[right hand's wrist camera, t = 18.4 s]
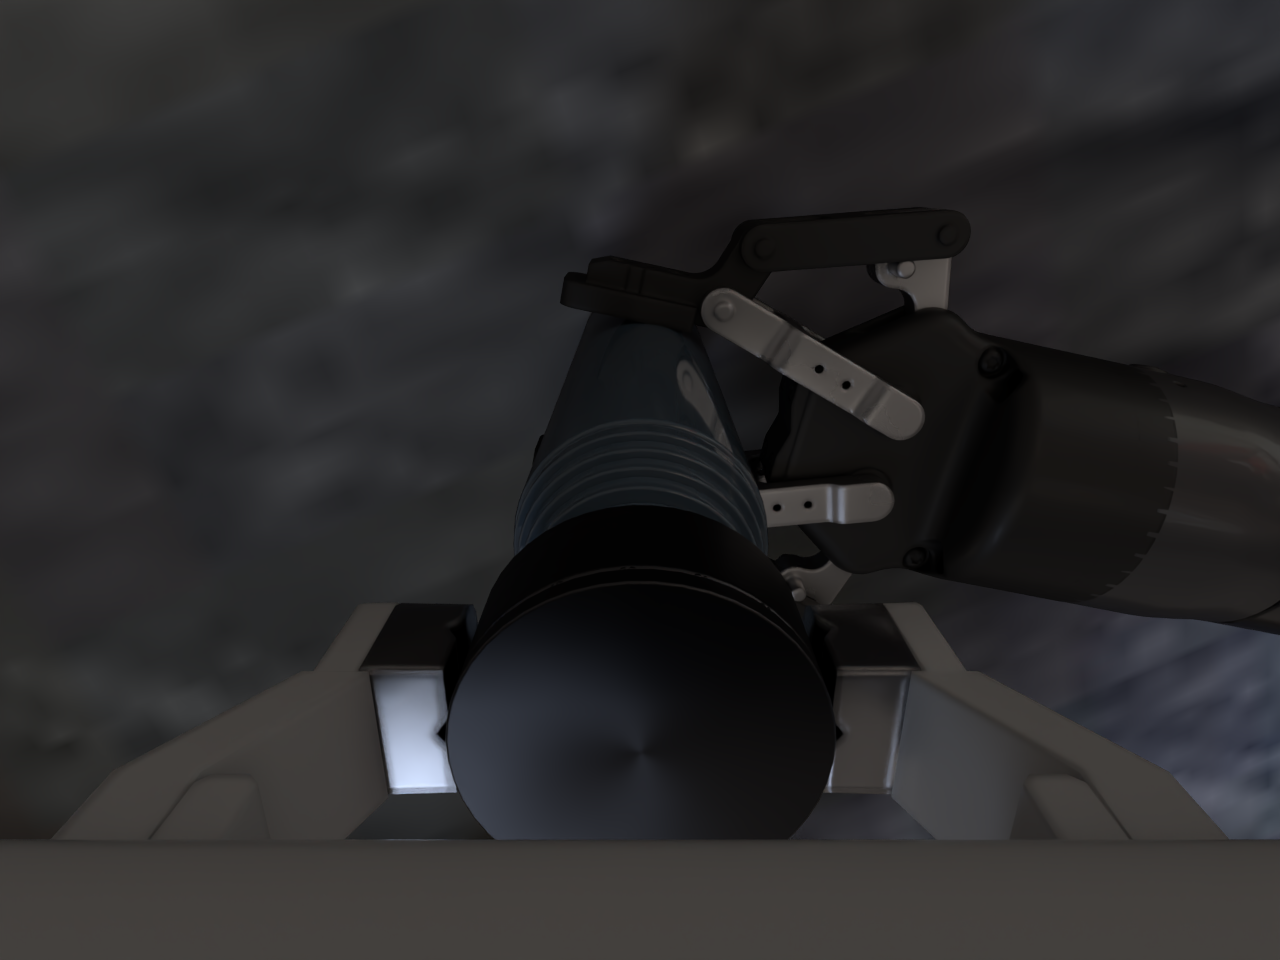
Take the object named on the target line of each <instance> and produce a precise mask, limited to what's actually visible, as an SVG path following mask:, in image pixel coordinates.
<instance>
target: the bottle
mask: <svg viewBox="0 0 1280 960" xmlns="http://www.w3.org/2000/svg"><path fill="white" fill-rule="evenodd" d="M625 505H655V506H663V507H671V508H677V509H681V510H685V511H691V512H694V513H697V514H700V515H702V516H705V517H708V518H710V519H713V520H715V521H718V522H720V523H722V524H724V525H725V526H727V527H729V528H731V529H733V530H735V531H737V532H738V533H739V534H741V535H742V536H744V537H745V538H746V539H748V540H749V541H750V542H752V543H753V544H755V545H756V546H757V547H758V548H759V549H760V550H761V551H762V552H763V553H764V554H765V555H766V556H767V557H768V527H767V516H766V511H765V507H764V502H763V500H762V497H761V494H760V492H759V489H758V486H757V484H756V481H755V479H754V476H753V473H752V471H751V468H750V465H749V463H748V460H747V457H746V455H745V452H744V450H743V447H742V444H741V442H740V439H739V436H738V434H737V431H736V428H735V426H734V423H733V421H732V418H731V415H730V413H729V410H728V407H727V405H726V402H725V399H724V397H723V394H722V392H721V389H720V386H719V384H718V381H717V378H716V376H715V373H714V370H713V368H712V365H711V362H710V360H709V357H708V355H707V352H706V349H705V347H704V344H703V341H702V339H701V336H700V333H699V331H698V328H697V326H696V325H694V324H693V328H692V333H688V332H683V331H679V330H674V329H669V328H666V327H662V326H658V325H652V324H646V323H641V322H636V321H631V320H627V319H622V318H617V317H613V316H608V315H603V314H598V313H594V312H592V314H591V315H590V317H589V319H588V321H587V324H586V326H585V329H584V331H583V334H582V337H581V339H580V342H579V345H578V347H577V350H576V352H575V355H574V358H573V360H572V363H571V366H570V368H569V371H568V373H567V376H566V379H565V381H564V384H563V387H562V389H561V392H560V394H559V397H558V400H557V402H556V405H555V408H554V410H553V413H552V415H551V418H550V421H549V423H548V426H547V429H546V431H545V434H544V436H543V439H542V442H541V444H540V447H539V450H538V452H537V455H536V457H535V460H534V463H533V465H532V468H531V471H530V473H529V476H528V478H527V481H526V484H525V486H524V489H523V492H522V494H521V497H520V499H519V502H518V507H517V511H516V515H515V526H514V557H515V556H516V555H517V554H518V553H519V552H520V551H521V550H522V549H523V548H524V547H525V546H526V545H527V544H528V543H530V542H531V541H533V540H534V539H535V538H537V537H538V536H539V535H541V534H542V533H544V532H545V531H547V530H549V529H551V528H553V527H554V526H556V525H558V524H560V523H562V522H564V521H566V520H569V519H571V518H574V517H577V516H579V515H582V514H585V513H588V512H592V511H597V510H601V509H605V508H610V507H619V506H625Z"/></svg>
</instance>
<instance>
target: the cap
mask: <svg viewBox="0 0 1280 960" xmlns="http://www.w3.org/2000/svg"><path fill="white" fill-rule="evenodd" d="M445 740H446V749H447V757H448V763H449V766H450V770H451V773H452V777H453V780H454V783H455V785H456V787H457V789H458V791H459V794H460V796H461V798H462V800H463V802H464V803H465V805H466V806H467V808H468V809H469V811H470V812H471V814H472V815H473V817H474V818H475V819H476V821H477V822H478V823H479V824H480V825H481V826H482V827H483V829H484V830H485V831H486V832H487V833H488V834H489V835H490V836H491V837H492V838H493V839H494V840H787V839H789V838H790V837H791V836H792V835H793V834H794V833H795V832H796V831H797V830H798V828H799V827H800V826H801V825H802V824H803V823H804V822H805V820H806V819H807V818H808V817H809V815H810V814H811V812H812V811H813V809H814V808H815V806H816V805H817V803H818V801H819V800H820V797H821V795H822V793H823V791H824V789H825V787H826V785H827V782H828V779H829V776H830V772H831V769H832V765H833V762H834V755H835V747H836V724H835V716H834V711H833V707H832V702H831V698H830V696H829V693H828V690H827V687H826V685H825V682H824V679H823V676H822V674H821V671H820V668H819V665H818V663H817V660H816V657H815V654H814V652H813V649H812V646H811V644H810V641H809V638H808V635H807V633H806V630H805V627H804V624H803V622H802V619H801V616H800V613H799V611H798V608H797V605H796V603H795V600H794V598H793V595H792V592H791V590H790V588H789V587H788V585H787V583H786V581H785V580H784V578H783V576H782V574H781V573H780V572H779V570H778V569H777V568H776V567H775V565H774V564H773V563H772V561H771V560H770V559H769V558H768V557H767V556H766V555H765V554H764V553H763V552H762V551H761V550H760V549H759V548H758V547H757V546H756V545H755V544H753V543H752V542H750V541H749V540H748V539H746V538H745V537H744V536H742V535H741V534H739V533H738V532H737V531H735V530H733V529H731V528H729V527H727V526H725V525H724V524H722V523H720V522H718V521H715V520H713V519H710V518H708V517H705V516H702V515H700V514H697V513H694V512H691V511H685V510H681V509H677V508H671V507H663V506H655V505H625V506H619V507H610V508H605V509H601V510H597V511H592V512H588V513H585V514H582V515H579V516H577V517H574V518H571V519H569V520H566V521H564V522H562V523H560V524H558V525H556V526H554V527H553V528H551V529H549V530H547V531H545V532H544V533H542V534H541V535H539V536H538V537H537V538H535V539H534V540H533V541H531V542H530V543H528V544H527V545H526V546H525V547H524V548H523V549H522V550H521V551H520V552H519V553H518V554H517V555H516V556H515V557H513V559H512V560H511V561H510V562H509V564H508V565H507V566H506V567H505V569H504V570H503V571H502V572H501V574H500V576H499V577H498V579H497V581H496V583H495V584H494V586H493V588H492V589H491V592H490V594H489V597H488V599H487V602H486V605H485V607H484V610H483V613H482V615H481V618H480V621H479V623H478V626H477V629H476V632H475V634H474V637H473V640H472V643H471V645H470V648H469V651H468V653H467V656H466V659H465V662H464V664H463V667H462V670H461V673H460V675H459V678H458V681H457V684H456V686H455V689H454V692H453V694H452V697H451V700H450V705H449V710H448V714H447V719H446V739H445Z"/></svg>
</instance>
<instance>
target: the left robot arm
mask: <svg viewBox="0 0 1280 960" xmlns="http://www.w3.org/2000/svg"><path fill="white" fill-rule="evenodd" d="M970 233H971V229H970V224H969V221H968V219H967V218H966V217H965V216H964V215H963V214H962V213H960V212H958V211H954V210H944V209H934V208H924V207H913V208H900V209H887V210H874V211H861V212H848V213H835V214H822V215H809V216H796V217H783V218H769V219H756V220H748V221H745V222H743V223H741V224H740V225H739V226H738V227H737V228H736V229H735V231H734V232H733V235H732V239H731V241H730V243H729V244H728V246H727V248H726V249H725V251H724V252H723V254H722V255H721V257H720V259H719V260H718V261H717V263H716V264H715V265H714V266H713V267H712V268H710V269H709V270H707V271H704V272H701V273H688V272H683V271H679V270H674V269H670V268H665V267H660V266H656V265H651V264H647V263H642V262H638V261H633V260H628V259H624V258H619V257H615V256H605V257H600V258H594V259H592V260H591V261H590V263H589V266H588V272H587V274H584V273H578V272H568V273H567V275H566V276H565V277H564V282H563V288H562V294H561V300H560V303H561V304H562V305H565V306H567V307H571V308H575V309H580V310H584V311H589V312H594V313H598V314H603V315H608V316H613V317H617V318H622V319H627V320H631V321H636V322H641V323H646V324H652V325H658V326H662V327H666V328H669V329H674V330H679V331H683V332H688V333H692V328H693V324H694V325H698V326H703V327H708V328H709V329H711V330H712V331H714V332H716V333H717V334H719V335H721V336H722V337H724V338H726V339H728V340H729V341H731V342H733V343H734V344H736V345H738V346H740V347H741V348H743V349H745V350H746V351H748V352H750V353H752V354H753V355H755V356H757V357H758V358H760V359H762V360H763V361H765V362H766V363H767V364H768V365H770V366H771V367H773V368H774V369H775V370H777V371H778V372H780V373H782V374H783V377H782V380H781V384H780V387H779V413H778V415H777V417H776V419H775V420H774V422H773V424H772V425H771V427H770V429H769V430H768V432H767V434H766V436H765V440H764V443H763V447H762V449H761V450H750V451H744V452H745V455H746V457H747V460H748V463H749V465H750V468H751V471H752V473H753V476H754V479H755V481H756V484H757V486H758V489H759V492H760V494H761V497H762V500H763V502H764V507H765V511H766V516H767V527H778V526H788V525H798V526H799V527H800V528H801V530H802V531H803V532H804V533H805V534H806V535H807V536H808V537H809V538H810V539H811V540H812V542H813V543H814V544H815V545H816V546H817V547H818V548H819V549H820V550H821V551H820V552H819V553H817V554H816V555H814V556H810V557H800V556H797V555H793V554H783V555H781V556H780V557H779V558H778V559H777V560H776V561H774V560H772V559H770V558H769V559H770V560H771V561H772V563H773V564H774V565H775V567H776V568H777V569H778V570H779V572H780V573H781V574H782V576H783V578H784V580H785V581H786V583H787V585H788V587H789V588H790V590H791V592H792V595H793V598H794V600H795V603H796V605H797V608H798V611H799V613H800V616H801V619H802V620H803V614H804V610H805V606H808V605H830V604H831V602H832V601H833V600H834V598H835V597H836V595H837V594H838V593H839V591H840V590H841V589H842V587H843V586H844V584H845V583H846V582H847V580H848V579H849V577H850V576H851V575H852V573H853V574H867V573H871V572H875V571H878V570H883V569H889V568H905V569H909V570H913V571H916V572H919V573H922V574H925V575H929V576H932V577H936V578H940V579H945V580H950V581H956V582H961V583H966V584H972V585H977V586H982V587H988V588H993V589H998V590H1004V591H1009V592H1014V593H1019V594H1025V595H1029V596H1034V597H1040V598H1045V599H1050V600H1055V601H1061V602H1067V603H1073V604H1078V605H1083V606H1088V607H1093V608H1098V609H1103V610H1109V611H1114V612H1119V613H1124V614H1129V615H1136V616H1143V617H1155V618H1171V619H1195V620H1202V621H1208V622H1213V623H1219V624H1224V625H1229V626H1234V627H1240V628H1245V629H1250V630H1255V631H1261V632H1266V633H1271V634H1276V635H1280V407H1277V406H1273V405H1269V404H1265V403H1262V402H1258V401H1256V400H1253V399H1250V398H1247V397H1245V396H1242V395H1240V394H1237V393H1235V392H1233V391H1230V390H1227V389H1225V388H1222V387H1219V386H1216V385H1213V384H1209V383H1205V382H1201V381H1198V380H1193V379H1188V378H1184V377H1179V376H1175V375H1171V374H1168V373H1167V372H1165V371H1163V370H1159V368H1156V367H1152V366H1146V365H1137V364H1130V365H1125V364H1121V363H1116V362H1111V361H1107V360H1102V359H1098V358H1093V357H1088V356H1084V355H1079V354H1074V353H1070V352H1065V351H1060V350H1056V349H1051V348H1047V347H1042V346H1037V345H1033V344H1028V343H1024V342H1019V341H1014V340H1010V339H1005V338H1001V337H996V336H991V335H987V334H983V333H979V332H976V331H974V330H973V329H971V328H970V327H969V326H968V325H967V324H966V323H965V322H964V321H963V320H962V319H961V318H960V317H959V316H958V315H956V314H955V313H953V312H952V311H949V310H947V308H948V296H949V283H950V270H951V258H952V257H954V256H956V255H957V254H959V253H960V252H961V251H962V250H963V249H964V248H965V247H966V245H967V243H968V241H969V238H970ZM854 265H867V272H868V274H869V276H870V278H871V279H872V280H874V281H875V282H877V283H879V284H881V285H883V286H886V287H888V288H893V289H898V290H899V291H900V292H901V293H902V295H903V297H904V302H905V305H904V306H902V307H899V308H897V309H895V310H892V311H890V312H888V313H885V314H883V315H881V316H878V317H876V318H874V319H871V320H869V321H867V322H864V323H862V324H860V325H857V326H855V327H853V328H850V329H848V330H846V331H843V332H841V333H839V334H836V335H834V336H832V337H829V338H827V339H825V338H823V337H822V336H820V335H818V334H817V333H815V332H813V331H812V330H810V329H808V328H807V327H805V326H803V325H802V324H800V323H798V322H797V321H795V320H793V319H792V318H790V317H788V316H787V315H785V314H783V313H782V312H780V311H778V310H776V309H774V308H772V307H770V306H768V305H767V304H765V303H763V302H762V301H760V300H758V299H757V298H755V296H756V294H757V293H758V291H759V290H760V288H761V287H762V285H763V284H764V282H765V281H766V279H767V278H768V276H769V275H770V273H771V272H773V271H787V270H800V269H813V268H827V267H840V266H854ZM543 436H544V435H541V436H540V438H539V441H538V443H537V446H536V448H535V452H534V458H533V463H534V460H535V457H536V455H537V452H538V450H539V447H540V444H541V442H542V439H543ZM532 465H533V464H532ZM762 468H763V469H762ZM760 469H762V470H760ZM775 504H776V505H775Z"/></svg>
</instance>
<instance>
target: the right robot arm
mask: <svg viewBox="0 0 1280 960" xmlns="http://www.w3.org/2000/svg"><path fill="white" fill-rule="evenodd" d="M802 622H803V624H804V627H805V630H806V633H807V635H808V638H809V641H810V644H811V646H812V649H813V652H814V654H815V657H816V660H817V663H818V665H819V668H820V671H821V674H822V676H823V679H824V682H825V685H826V687H827V690H828V693H829V696H830V698H831V702H832V707H833V711H834V716H835V724H836V747H835V755H834V762H833V765H832V769H831V772H830V776H829V779H828V782H827V785H826V787H825V789H824V791H823V792H830V793H867V794H892V796H891V797H892V798H893V799H894V800H895V801H896V802H897V803H898V804H899V805H900V806H901V807H902V808H903V809H904V810H905V811H906V812H908V813H909V814H910V815H911V816H912V817H913V818H914V819H915V820H916V821H917V822H918V823H919V824H920V825H921V826H922V827H923V828H925V829H926V830H927V831H928V832H929V833H930V834H931V835H932V836H933V837H934V838H935V839H936V840H344V839H345V838H346V837H347V836H348V835H349V834H350V833H351V832H353V831H354V830H355V829H356V828H357V827H358V826H359V825H360V824H361V823H362V822H363V821H364V820H365V819H366V818H367V817H369V816H370V815H371V814H372V813H373V812H374V811H375V810H376V809H377V808H378V807H379V806H380V805H381V804H382V803H383V802H385V801H386V800H387V799H388V794H412V793H447V792H457V787H456V785H455V783H454V780H453V777H452V773H451V770H450V766H449V763H448V757H447V749H446V740H445V739H446V719H447V714H448V710H449V705H450V700H451V697H452V694H453V692H454V689H455V686H456V684H457V681H458V678H459V675H460V673H461V670H462V667H463V664H464V662H465V659H466V656H467V653H468V651H469V648H470V645H471V643H472V640H473V637H474V634H475V632H476V629H477V626H478V622H477V614H476V610H475V608H474V606H473V604H428V603H400V604H399V603H397V602H390V603H363V604H360V605H358V606H357V607H356V608H355V610H354V611H353V613H352V614H351V616H350V617H349V619H348V620H347V622H346V623H345V625H344V626H343V628H342V629H341V630H340V632H339V633H338V635H337V636H336V638H335V639H334V641H333V642H332V644H331V645H330V647H329V648H328V650H327V651H326V653H325V654H324V656H323V657H322V659H321V660H320V662H319V663H318V664H317V666H316V667H315V669H314V670H313V671H301V672H299V673H297V674H295V675H293V676H292V677H290V678H288V679H286V680H284V681H282V682H280V683H278V684H276V685H275V686H273V687H271V688H269V689H267V690H265V691H263V692H261V693H259V694H257V695H256V696H254V697H252V698H250V699H248V700H246V701H244V702H242V703H240V704H238V705H237V706H235V707H233V708H231V709H229V710H227V711H225V712H223V713H221V714H219V715H218V716H216V717H214V718H212V719H210V720H208V721H206V722H204V723H202V724H201V725H199V726H197V727H195V728H193V729H191V730H189V731H187V732H185V733H183V734H182V735H180V736H178V737H176V738H174V739H172V740H170V741H168V742H166V743H164V744H163V745H161V746H159V747H157V748H155V749H153V750H151V751H149V752H147V753H145V754H144V755H142V756H140V757H138V758H136V759H134V760H132V761H130V762H128V763H127V764H125V765H123V766H121V767H119V768H117V769H115V770H113V771H112V772H111V773H110V774H109V775H108V776H107V778H106V779H105V780H104V781H103V782H102V783H101V784H100V785H99V786H98V787H97V789H96V790H95V791H94V792H93V793H92V794H91V795H90V796H89V797H88V799H87V800H86V801H85V802H84V803H83V804H82V805H81V806H80V807H79V809H78V810H77V811H76V812H75V813H74V814H73V815H72V816H71V817H70V819H69V820H68V821H67V822H66V823H65V824H64V825H63V826H62V827H61V829H60V830H59V831H58V832H57V833H56V834H55V835H54V836H53V837H52V838H51V840H0V960H1280V839H1228V837H1227V836H1226V835H1225V834H1224V833H1223V832H1222V831H1221V830H1220V828H1219V827H1218V826H1217V825H1216V824H1215V823H1214V822H1213V821H1212V820H1211V818H1210V817H1209V816H1208V815H1207V814H1206V813H1205V812H1204V811H1203V809H1202V808H1201V807H1200V806H1199V805H1198V804H1197V803H1196V802H1195V801H1194V799H1193V798H1192V797H1191V796H1190V795H1189V794H1188V793H1187V792H1186V791H1185V789H1184V788H1183V787H1182V786H1181V785H1180V784H1179V783H1178V782H1177V780H1176V779H1175V778H1174V777H1173V776H1172V775H1171V774H1170V773H1169V772H1168V771H1166V770H1164V769H1162V768H1160V767H1158V766H1157V765H1155V764H1153V763H1151V762H1149V761H1147V760H1145V759H1143V758H1141V757H1140V756H1138V755H1136V754H1134V753H1132V752H1130V751H1128V750H1126V749H1124V748H1123V747H1121V746H1119V745H1117V744H1115V743H1113V742H1111V741H1109V740H1107V739H1106V738H1104V737H1102V736H1100V735H1098V734H1096V733H1094V732H1092V731H1090V730H1089V729H1087V728H1085V727H1083V726H1081V725H1079V724H1077V723H1075V722H1073V721H1072V720H1070V719H1068V718H1066V717H1064V716H1062V715H1060V714H1058V713H1056V712H1054V711H1053V710H1051V709H1049V708H1047V707H1045V706H1043V705H1041V704H1039V703H1037V702H1036V701H1034V700H1032V699H1030V698H1028V697H1026V696H1024V695H1022V694H1020V693H1019V692H1017V691H1015V690H1013V689H1011V688H1009V687H1007V686H1005V685H1003V684H1002V683H1000V682H998V681H996V680H994V679H992V678H990V677H988V676H986V675H985V674H983V673H981V672H979V671H966V669H965V668H964V666H963V665H962V663H961V662H960V660H959V659H958V657H957V656H956V654H955V653H954V652H953V650H952V649H951V647H950V646H949V644H948V643H947V641H946V640H945V638H944V637H943V636H942V634H941V633H940V631H939V630H938V628H937V627H936V625H935V624H934V622H933V621H932V619H931V618H930V617H929V615H928V614H927V612H926V611H925V609H924V608H923V606H922V605H920V604H918V603H916V602H906V603H876V604H835V605H808V606H805V610H804V614H803V620H802Z"/></svg>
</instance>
